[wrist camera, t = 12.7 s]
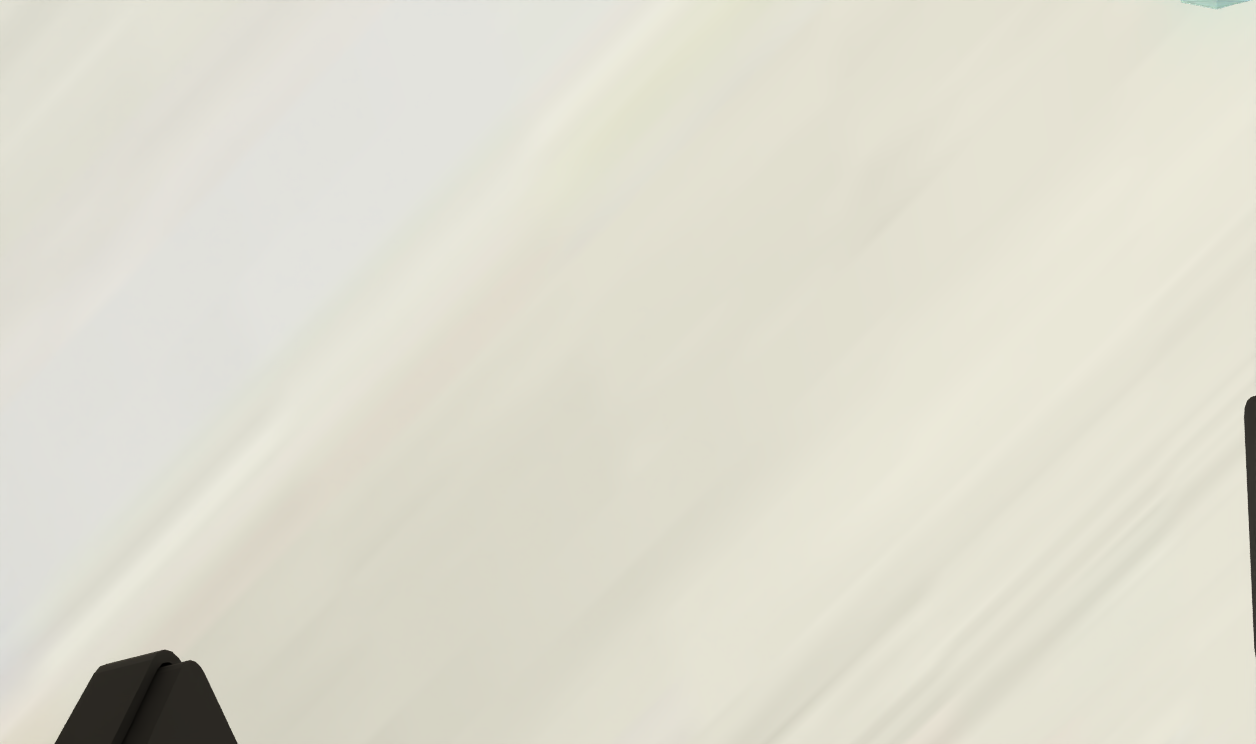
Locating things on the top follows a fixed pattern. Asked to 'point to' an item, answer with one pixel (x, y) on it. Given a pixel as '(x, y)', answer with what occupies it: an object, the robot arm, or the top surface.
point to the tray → (1213, 3)
